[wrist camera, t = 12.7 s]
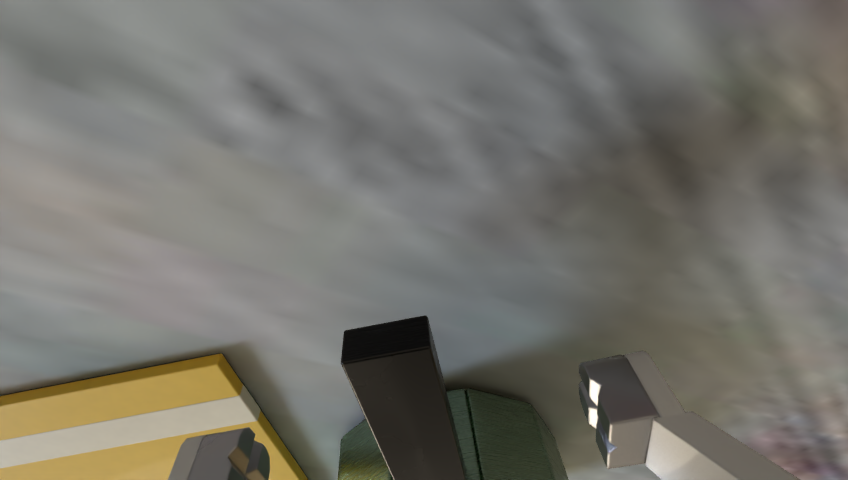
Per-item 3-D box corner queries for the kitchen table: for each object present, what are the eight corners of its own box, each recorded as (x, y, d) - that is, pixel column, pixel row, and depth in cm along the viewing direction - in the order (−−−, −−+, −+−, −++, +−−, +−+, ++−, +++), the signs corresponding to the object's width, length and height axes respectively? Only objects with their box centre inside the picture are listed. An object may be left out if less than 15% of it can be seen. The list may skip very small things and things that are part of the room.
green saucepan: (229, 273, 13) (174, 397, 10) (544, 211, 13) (605, 318, 9) (366, 513, 22) (363, 622, 19) (553, 482, 22) (585, 587, 18)
